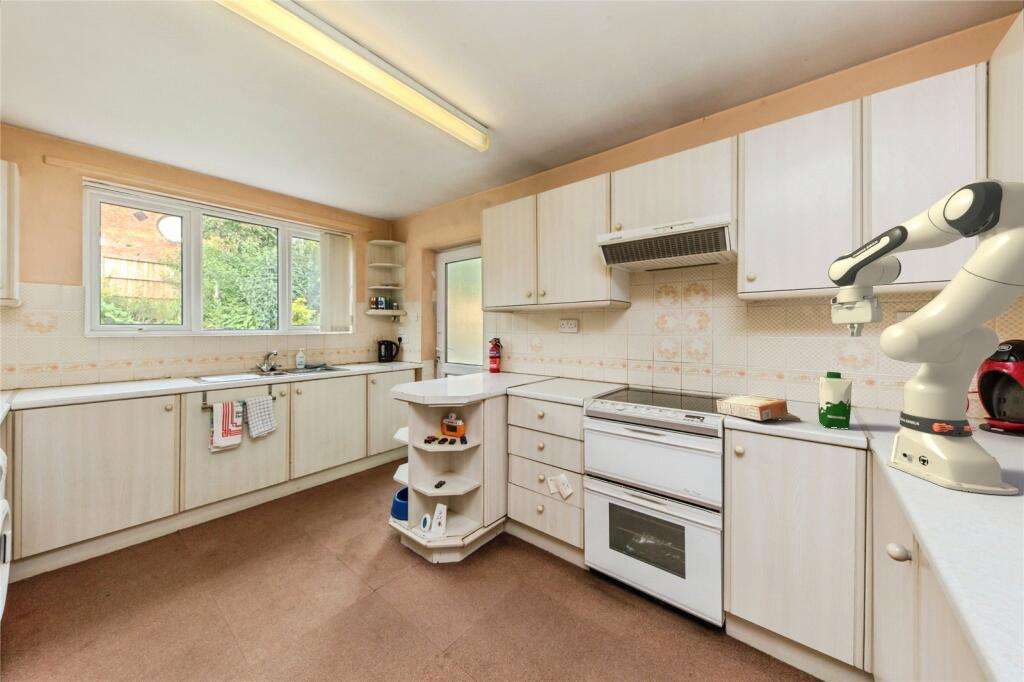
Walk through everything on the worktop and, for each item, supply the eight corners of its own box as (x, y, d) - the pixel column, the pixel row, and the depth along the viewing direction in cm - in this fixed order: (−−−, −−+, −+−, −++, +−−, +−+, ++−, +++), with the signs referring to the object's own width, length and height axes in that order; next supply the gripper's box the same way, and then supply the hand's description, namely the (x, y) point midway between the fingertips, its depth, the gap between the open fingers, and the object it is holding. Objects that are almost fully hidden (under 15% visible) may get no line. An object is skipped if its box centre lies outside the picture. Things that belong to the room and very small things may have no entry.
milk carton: (844, 425, 141) (847, 372, 140) (853, 431, 133) (855, 375, 132) (815, 422, 145) (817, 371, 144) (821, 428, 137) (823, 373, 136)
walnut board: (800, 421, 146) (800, 418, 146) (754, 419, 150) (754, 416, 150) (776, 409, 166) (776, 407, 166) (736, 407, 169) (736, 405, 169)
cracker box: (788, 415, 145) (742, 407, 165) (787, 400, 145) (740, 393, 165) (761, 422, 141) (716, 412, 161) (759, 406, 141) (715, 399, 161)
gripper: (889, 294, 121) (889, 336, 121) (846, 299, 141) (846, 336, 141) (866, 294, 122) (866, 336, 123) (827, 300, 142) (827, 336, 143)
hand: (855, 336), depth 132 cm, fingers closed
